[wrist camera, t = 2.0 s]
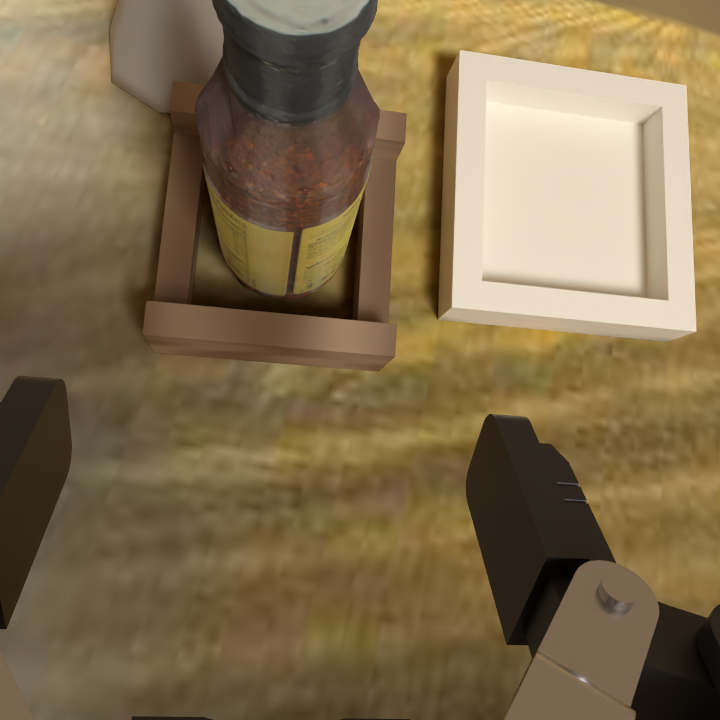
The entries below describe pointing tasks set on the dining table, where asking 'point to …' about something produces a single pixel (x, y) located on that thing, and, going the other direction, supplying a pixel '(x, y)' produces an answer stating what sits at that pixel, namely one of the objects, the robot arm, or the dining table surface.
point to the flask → (163, 47)
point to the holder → (266, 329)
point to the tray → (565, 201)
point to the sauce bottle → (287, 139)
